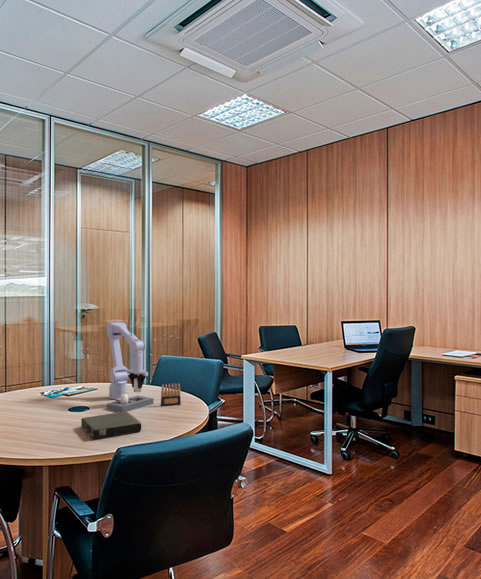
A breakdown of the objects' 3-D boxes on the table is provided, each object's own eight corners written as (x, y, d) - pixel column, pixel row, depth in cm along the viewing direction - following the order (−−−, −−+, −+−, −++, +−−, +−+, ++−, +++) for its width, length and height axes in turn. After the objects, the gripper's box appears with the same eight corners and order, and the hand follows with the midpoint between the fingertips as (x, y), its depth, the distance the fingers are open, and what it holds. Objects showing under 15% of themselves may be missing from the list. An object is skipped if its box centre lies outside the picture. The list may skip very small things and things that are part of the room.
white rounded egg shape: (132, 391, 238) (132, 378, 238) (137, 390, 241) (137, 377, 242) (137, 392, 236) (137, 379, 236) (142, 391, 239) (143, 378, 240)
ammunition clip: (161, 406, 235) (161, 384, 235) (160, 405, 237) (160, 383, 237) (180, 405, 239) (180, 383, 239) (180, 404, 240) (180, 382, 240)
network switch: (75, 429, 196) (75, 418, 196) (124, 420, 211) (124, 409, 211) (95, 443, 178) (95, 431, 178) (147, 431, 193) (147, 420, 193)
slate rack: (106, 409, 229) (107, 394, 229) (137, 400, 247) (138, 387, 247) (122, 412, 222) (122, 398, 222) (153, 403, 241) (153, 390, 241)
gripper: (152, 363, 238) (152, 388, 238) (133, 360, 246) (133, 384, 246) (142, 364, 232) (142, 390, 232) (123, 362, 240) (123, 387, 240)
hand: (137, 387), depth 238 cm, fingers closed on white rounded egg shape, 4 cm apart
